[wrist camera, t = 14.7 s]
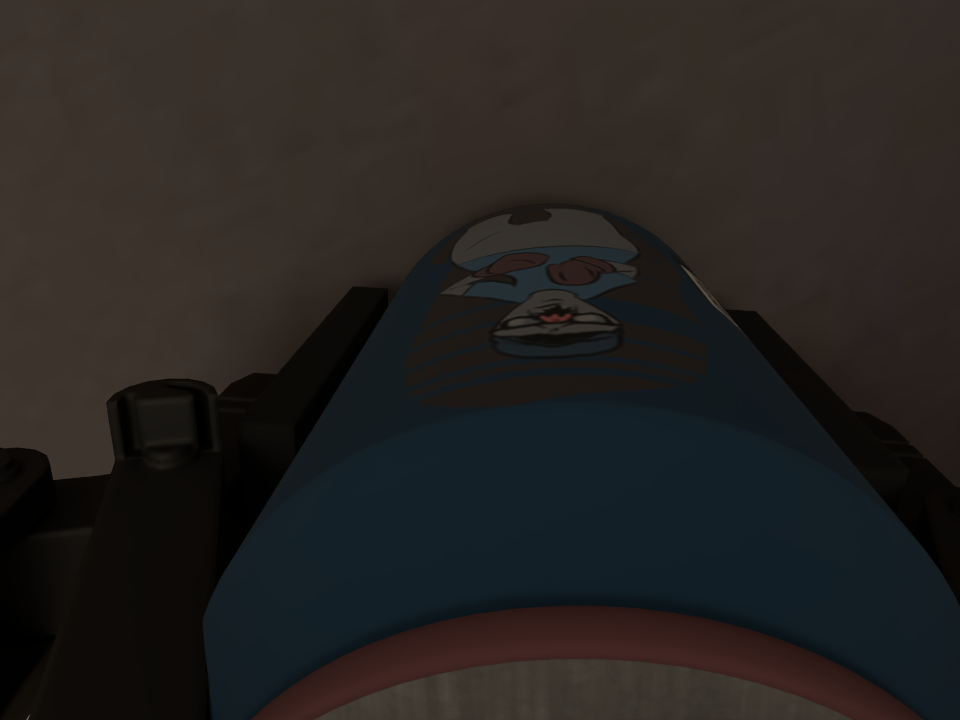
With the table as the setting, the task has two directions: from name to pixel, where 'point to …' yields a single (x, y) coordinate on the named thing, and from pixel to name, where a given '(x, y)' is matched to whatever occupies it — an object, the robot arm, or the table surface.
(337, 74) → the table surface
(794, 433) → the soda can
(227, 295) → the table surface
